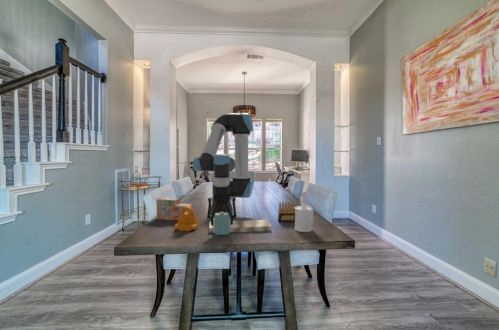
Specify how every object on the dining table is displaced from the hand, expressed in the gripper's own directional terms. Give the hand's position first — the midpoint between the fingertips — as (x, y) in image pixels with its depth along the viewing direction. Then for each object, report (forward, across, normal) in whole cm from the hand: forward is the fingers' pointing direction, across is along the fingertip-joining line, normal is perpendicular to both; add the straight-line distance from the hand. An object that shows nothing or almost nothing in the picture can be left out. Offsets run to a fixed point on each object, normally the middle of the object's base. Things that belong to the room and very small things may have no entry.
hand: (222, 231), depth 128 cm
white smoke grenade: (+2, +43, +3) cm, 43 cm away
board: (+1, +9, +8) cm, 13 cm away
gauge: (+1, 0, +5) cm, 5 cm away
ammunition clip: (+2, +38, +18) cm, 42 cm away
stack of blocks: (+2, -28, +30) cm, 41 cm away
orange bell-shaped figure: (+2, -19, +11) cm, 22 cm away
